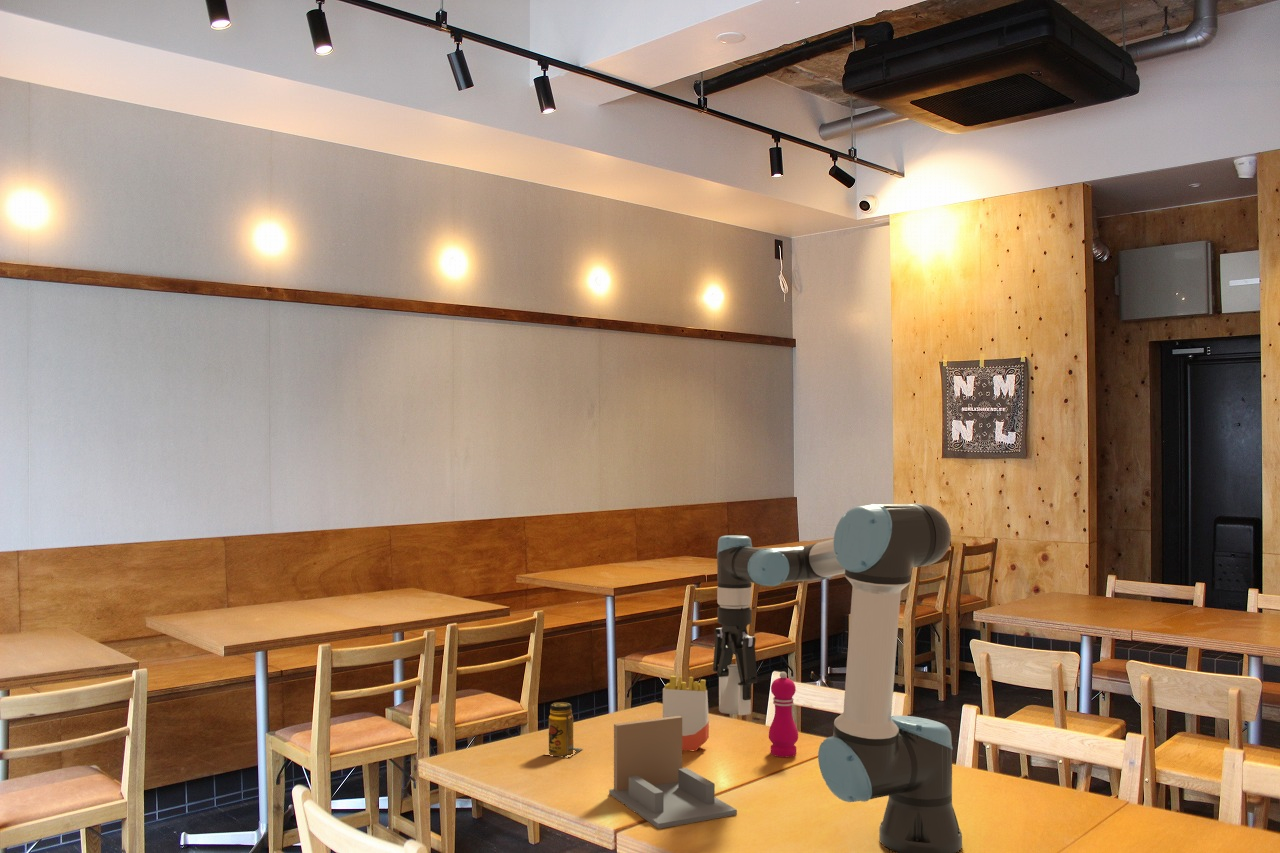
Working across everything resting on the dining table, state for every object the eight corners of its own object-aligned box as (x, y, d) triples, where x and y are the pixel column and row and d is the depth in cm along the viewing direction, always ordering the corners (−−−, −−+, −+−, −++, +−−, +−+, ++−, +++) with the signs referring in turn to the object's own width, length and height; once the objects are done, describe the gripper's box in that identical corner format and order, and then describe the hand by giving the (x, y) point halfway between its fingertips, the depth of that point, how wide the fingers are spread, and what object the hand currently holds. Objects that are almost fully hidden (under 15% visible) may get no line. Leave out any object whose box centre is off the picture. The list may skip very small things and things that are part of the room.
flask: (749, 716, 224) (749, 670, 225) (716, 714, 226) (716, 668, 226) (753, 708, 232) (753, 663, 232) (720, 706, 233) (720, 661, 233)
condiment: (542, 755, 253) (542, 706, 253) (556, 746, 261) (556, 698, 261) (569, 758, 250) (569, 708, 251) (583, 749, 258) (583, 700, 259)
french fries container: (666, 743, 263) (666, 672, 264) (709, 746, 261) (709, 674, 261) (662, 748, 259) (662, 676, 259) (705, 752, 256) (705, 678, 257)
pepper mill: (778, 747, 260) (778, 667, 260) (803, 753, 255) (803, 671, 256) (762, 754, 254) (762, 672, 255) (788, 759, 250) (788, 676, 250)
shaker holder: (736, 814, 212) (736, 740, 212) (658, 828, 204) (658, 751, 204) (682, 782, 232) (682, 715, 233) (609, 794, 224) (609, 724, 225)
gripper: (774, 611, 222) (774, 718, 221) (725, 598, 240) (725, 698, 240) (744, 613, 219) (744, 722, 218) (697, 600, 237) (697, 701, 236)
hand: (734, 709), depth 229 cm, fingers closed on flask, 8 cm apart
